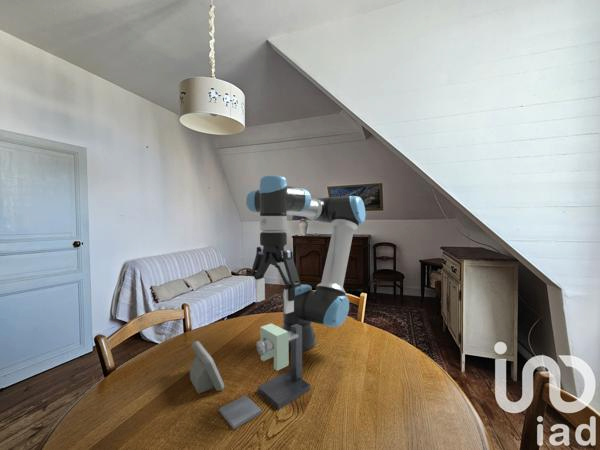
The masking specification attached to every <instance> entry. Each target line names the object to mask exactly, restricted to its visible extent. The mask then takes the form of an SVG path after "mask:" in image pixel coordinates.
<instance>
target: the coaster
mask: <svg viewBox="0 0 600 450" xmlns="http://www.w3.org/2000/svg"><path fill="white" fill-rule="evenodd" d="M218 412H219V414H221V416H222V417H223V418H224V419H225V421H226V422H227V424H229V425H230V427H231V428H232V429H233V430H235V429H237V428H239V427H240V426H242V425H244V424H245V423H247V422H249V421H251V420H253V419H254V418H255V417H257V416H259V415H261V414H262V409H261V408H260V407H259V406H258V405H257V404H256V403H255V402H254V401H253V400H251V398H250V397H248V395H247V394H245V395H243V396H241V397H239V398H237V399H235V400H233V401H232V402H229V403H227V404H226V405H223V406H222V407H220V408H218Z"/></svg>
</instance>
